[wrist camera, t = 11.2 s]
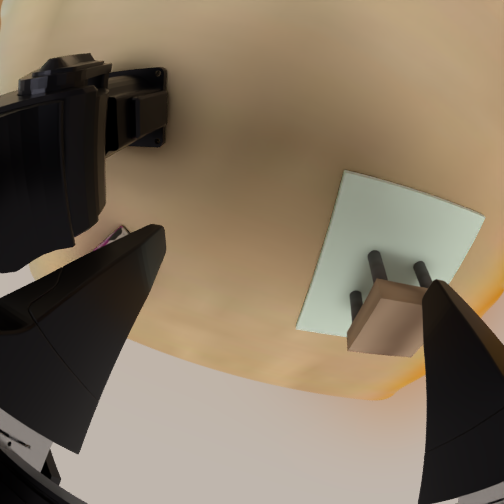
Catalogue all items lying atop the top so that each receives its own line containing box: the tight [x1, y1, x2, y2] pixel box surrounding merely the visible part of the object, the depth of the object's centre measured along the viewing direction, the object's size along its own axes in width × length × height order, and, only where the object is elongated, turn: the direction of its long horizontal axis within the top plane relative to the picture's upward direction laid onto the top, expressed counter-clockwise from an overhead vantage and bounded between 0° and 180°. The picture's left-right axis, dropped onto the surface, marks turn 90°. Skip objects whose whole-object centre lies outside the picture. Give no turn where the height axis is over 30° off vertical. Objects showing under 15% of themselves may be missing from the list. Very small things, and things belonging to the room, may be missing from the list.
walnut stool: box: [347, 250, 432, 357], centre depth 21 cm, size 6×6×6 cm
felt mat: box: [296, 170, 485, 337], centre depth 23 cm, size 14×18×1 cm
